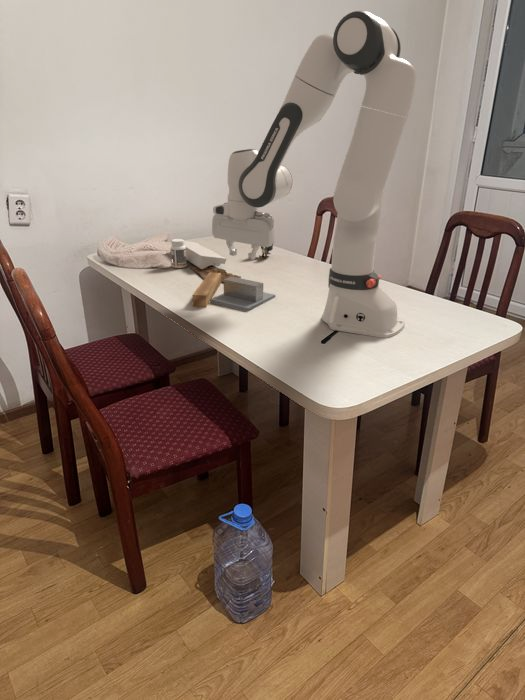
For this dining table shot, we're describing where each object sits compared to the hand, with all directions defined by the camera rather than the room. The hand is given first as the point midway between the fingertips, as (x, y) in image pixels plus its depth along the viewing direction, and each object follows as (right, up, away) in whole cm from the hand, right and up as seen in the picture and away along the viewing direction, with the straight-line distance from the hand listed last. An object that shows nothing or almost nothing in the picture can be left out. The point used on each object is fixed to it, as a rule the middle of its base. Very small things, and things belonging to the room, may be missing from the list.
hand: (242, 257), depth 151 cm
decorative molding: (-15, +10, +50) cm, 53 cm away
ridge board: (0, -12, +6) cm, 14 cm away
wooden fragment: (-8, -1, +33) cm, 34 cm away
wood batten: (-11, -10, +11) cm, 19 cm away
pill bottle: (-25, +4, +40) cm, 47 cm away
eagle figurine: (+7, +8, +52) cm, 53 cm away
